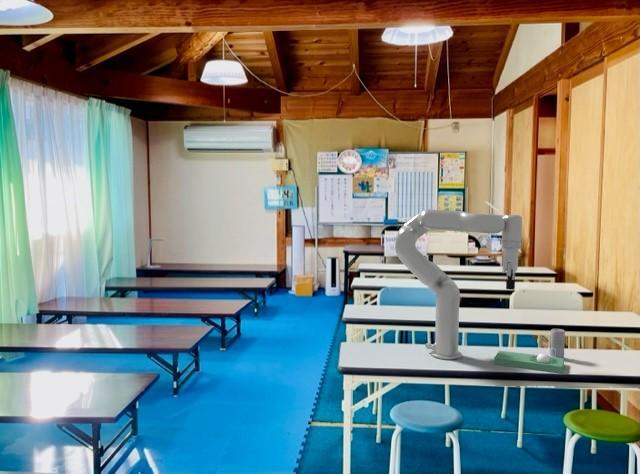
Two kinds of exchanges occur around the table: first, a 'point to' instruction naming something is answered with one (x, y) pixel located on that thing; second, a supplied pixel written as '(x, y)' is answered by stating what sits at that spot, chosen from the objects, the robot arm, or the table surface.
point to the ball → (543, 358)
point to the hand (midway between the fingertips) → (510, 289)
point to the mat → (528, 361)
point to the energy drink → (557, 343)
